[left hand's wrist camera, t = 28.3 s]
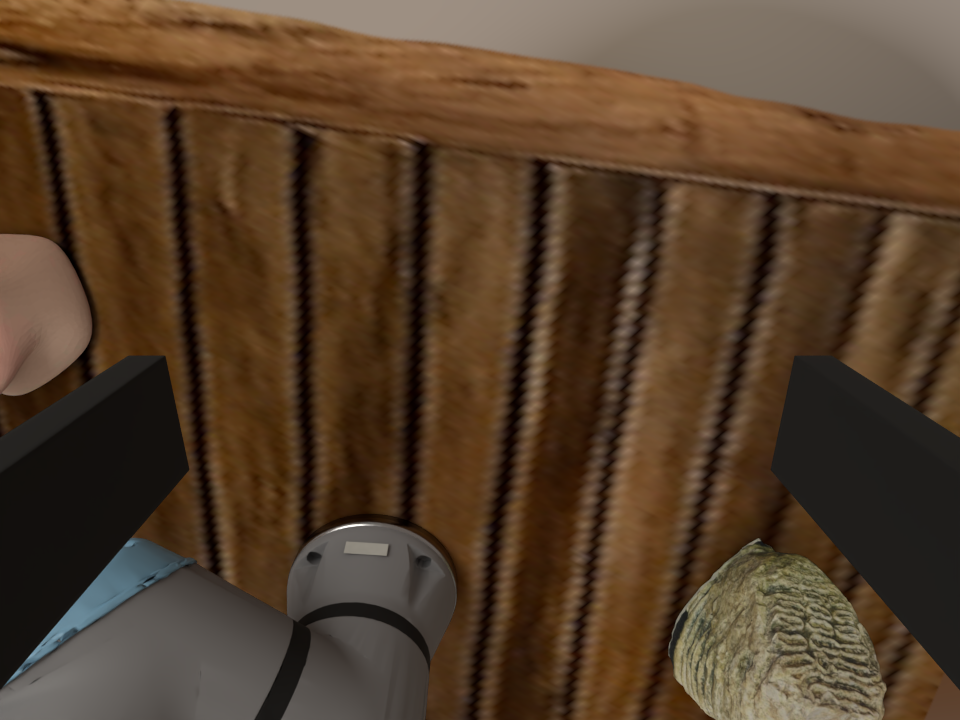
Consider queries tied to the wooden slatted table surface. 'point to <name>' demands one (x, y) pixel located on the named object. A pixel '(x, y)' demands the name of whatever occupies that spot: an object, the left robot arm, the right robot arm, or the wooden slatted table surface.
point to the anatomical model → (38, 313)
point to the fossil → (775, 644)
